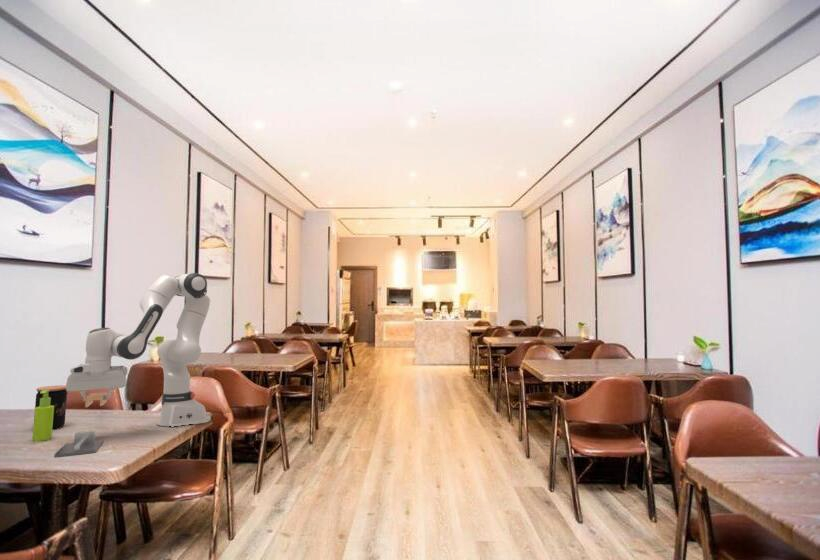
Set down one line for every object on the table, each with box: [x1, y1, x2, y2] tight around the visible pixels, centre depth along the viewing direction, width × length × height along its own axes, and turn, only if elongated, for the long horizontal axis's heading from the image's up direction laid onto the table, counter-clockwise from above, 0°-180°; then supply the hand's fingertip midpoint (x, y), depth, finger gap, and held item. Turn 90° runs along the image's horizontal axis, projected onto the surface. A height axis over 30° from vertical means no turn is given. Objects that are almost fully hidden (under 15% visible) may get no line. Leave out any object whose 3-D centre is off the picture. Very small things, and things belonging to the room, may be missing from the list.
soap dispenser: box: [32, 390, 54, 442], centre depth 171 cm, size 6×7×20 cm
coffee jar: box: [34, 384, 68, 430], centre depth 188 cm, size 11×11×18 cm
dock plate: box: [53, 430, 104, 458], centre depth 159 cm, size 12×14×5 cm
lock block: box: [84, 391, 108, 408], centre depth 174 cm, size 6×9×4 cm, turn 26°
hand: (96, 400), depth 174 cm, fingers closed on lock block, 6 cm apart
